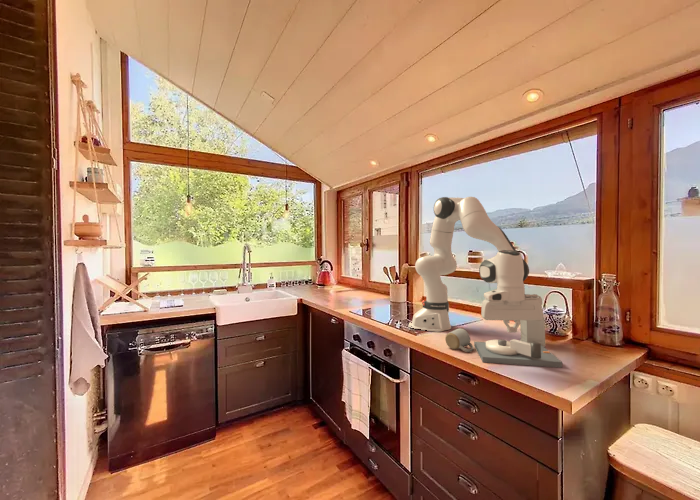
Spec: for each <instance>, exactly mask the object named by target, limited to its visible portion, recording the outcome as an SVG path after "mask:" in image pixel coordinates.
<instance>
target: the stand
mask: <svg viewBox="0 0 700 500" xmlns="http://www.w3.org/2000/svg"><path fill="white" fill-rule="evenodd" d="M473 343H474V345H473V347H474V348H475V350H476V352H477V354H478V356H479V358H480V360H481V362H482V363H491V364H503V365H517V366H519V365H520V366H531V367H532V366H533V367H547V368H548V367H549V368H550V367H551V368H563V362H562V361H561V360H560V359H559V358H558V357H556V355H554V354H553V353H552V352H551V351H550V350H548V349H547V348H546V347H543V346H542V345H541V358H540V359H537V358H533V357H530V356H527V355H524V354H520V353H519V354H517V355H501V354H496V353H493V352H490V351H488V350H487V349H486V341H474V342H473Z"/></svg>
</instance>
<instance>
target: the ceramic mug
mask: <svg viewBox="0 0 700 500" xmlns="http://www.w3.org/2000/svg"><path fill="white" fill-rule="evenodd" d="M445 343H446V346H448V348H450V349H452V350H459V349H460V350H461V351H462V352H463V351H464V352H466V353H471V352H472V351H473V350H474V345H473V344H472V343H471V337H470V334H469V333H468V331H467V330H465V328H464V329H463V328H456V329H454V330H452V331H450V332H448V333H447V334H446V335H445ZM467 346H469V347H470V348H466V347H467Z"/></svg>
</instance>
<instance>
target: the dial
mask: <svg viewBox="0 0 700 500" xmlns="http://www.w3.org/2000/svg"><path fill="white" fill-rule="evenodd" d="M485 342H486V349H487V350H488V351H490V352H493V353H496V354H501V355H517V354H519V353H520V354H524V355H527V356H530V357H533V358H537V359H540V358H541V343H539V342H530V343H527V342H523V341H521V340H520V339H519V340H518V339H510V340H505V339H502V338H501V339H500V338H499V339H490V340H486V341H485Z"/></svg>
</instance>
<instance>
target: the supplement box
mask: <svg viewBox="0 0 700 500" xmlns="http://www.w3.org/2000/svg"><path fill="white" fill-rule="evenodd" d="M545 318H546V317H544V316H543V319H542V320H541V321H537V320H520V325H519V326H520V327H519V329H520V341H523V342H527V343H530V342H539V343H541V345H542V346H543V347H544V348H546V328H545V327H546V325H545V323H546V320H545Z"/></svg>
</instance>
